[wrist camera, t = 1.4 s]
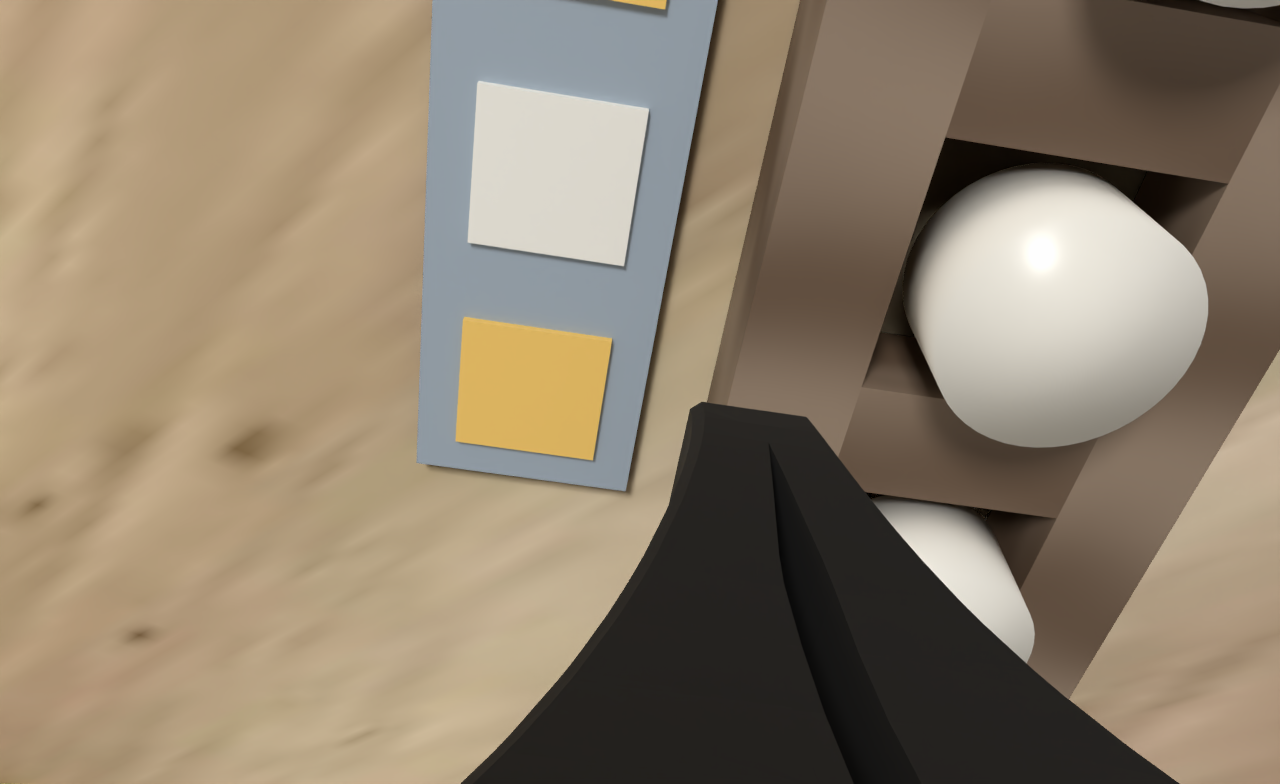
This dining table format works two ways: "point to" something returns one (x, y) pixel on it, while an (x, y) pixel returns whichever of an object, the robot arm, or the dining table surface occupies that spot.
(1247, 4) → the button
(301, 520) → the dining table surface
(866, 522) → the robot arm
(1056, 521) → the button board
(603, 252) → the pattern card
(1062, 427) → the button
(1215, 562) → the dining table surface
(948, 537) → the button
